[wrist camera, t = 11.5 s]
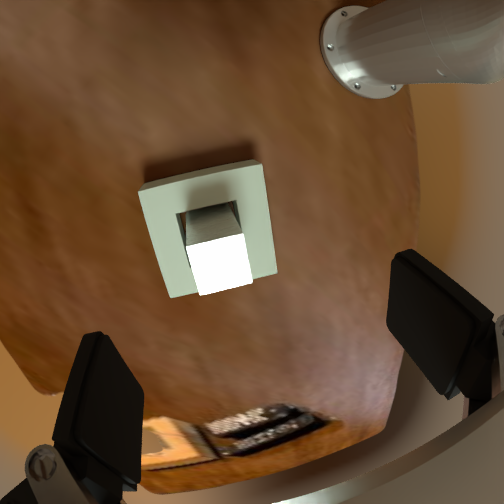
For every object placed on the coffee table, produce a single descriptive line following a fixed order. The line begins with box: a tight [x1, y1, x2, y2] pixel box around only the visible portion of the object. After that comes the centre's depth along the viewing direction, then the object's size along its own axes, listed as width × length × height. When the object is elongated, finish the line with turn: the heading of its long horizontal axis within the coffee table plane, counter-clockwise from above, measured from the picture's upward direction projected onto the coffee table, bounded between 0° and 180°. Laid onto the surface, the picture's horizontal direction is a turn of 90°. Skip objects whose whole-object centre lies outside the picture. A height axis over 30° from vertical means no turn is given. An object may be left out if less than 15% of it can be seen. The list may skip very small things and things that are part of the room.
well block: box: [138, 159, 277, 298], centre depth 31 cm, size 12×12×4 cm
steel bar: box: [186, 202, 253, 295], centre depth 28 cm, size 4×4×11 cm
